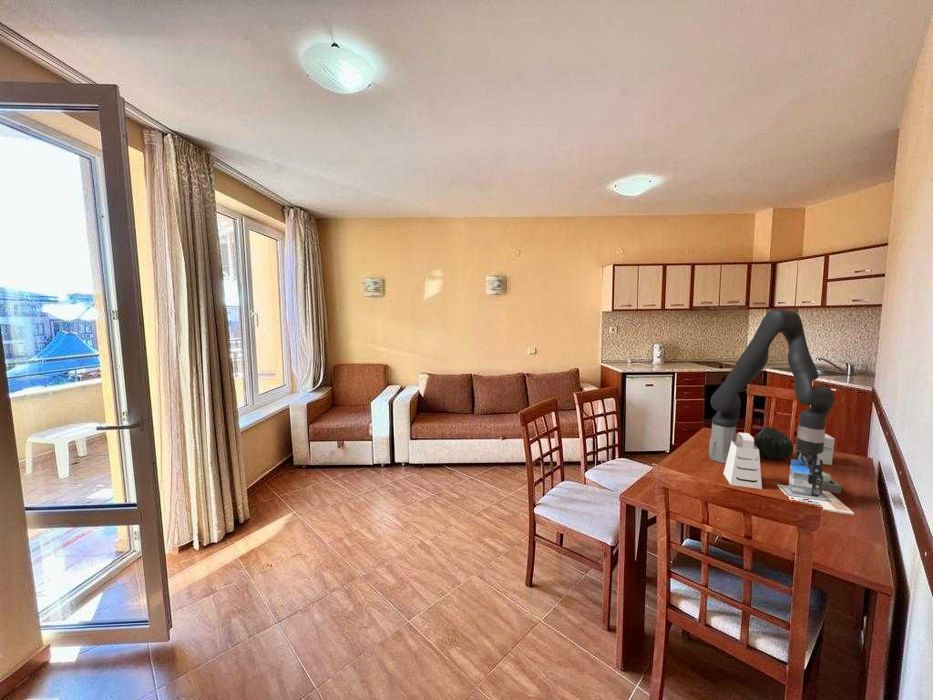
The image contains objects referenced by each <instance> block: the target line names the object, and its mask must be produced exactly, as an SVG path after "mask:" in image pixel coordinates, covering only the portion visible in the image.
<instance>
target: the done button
mask: <svg viewBox="0 0 933 700" xmlns="http://www.w3.org/2000/svg"><path fill="white" fill-rule="evenodd" d="M822 475H823V483H830V480H831V478H832V475H831V474H830V473H828V472H825V471H822Z"/></svg>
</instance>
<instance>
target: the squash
mask: <svg viewBox="0 0 933 700" xmlns="http://www.w3.org/2000/svg"><path fill="white" fill-rule="evenodd" d="M753 438H754V445H755V446H756V447H757V448H758V449H759V456H760V457H763V458H768V459H769V460H775V459H777V460H778V459H779V460H781V459H788V458H790V457H791V456H792V455H793V453H794V444H793V442H792V440H791V439H790V438H789V437H788V436H787V435H786V434H785V433H783V432H781V431H779V430H777V429H775V428H773V427H771V426H765V427H763V428H762V429H761V430H760V431H759V432H758V433H756V435H754V437H753Z"/></svg>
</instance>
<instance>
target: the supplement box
mask: <svg viewBox="0 0 933 700" xmlns="http://www.w3.org/2000/svg"><path fill="white" fill-rule="evenodd" d="M835 441H836V440H835V438H834V437H832V436H831V435H829V434H827V433H825V440H824V450H823V453H819V454H817V457H818V459H819V460H822V461H823V464H822V465H828V466H829V465H830V466H831V465H833V457H834V449H835V448H834V447H835Z"/></svg>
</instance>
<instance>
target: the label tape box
mask: <svg viewBox="0 0 933 700" xmlns="http://www.w3.org/2000/svg"><path fill="white" fill-rule="evenodd" d="M801 463H802V464H804V462H803V461H801V460H795V459H791V460H790V466H789V476H788V477H789V478H788V486H789V488H788V489H789V490H790V491H791V492H792V493H797V494H803V495H810V496H816V497H822V487H823V475H822V476H817V483H816V485H813V484H809V483H808V476H809V471H808V468H806V465H800V464H801ZM810 466H811V465H810ZM811 470H812V469H811ZM818 471H819V469H818Z"/></svg>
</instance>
